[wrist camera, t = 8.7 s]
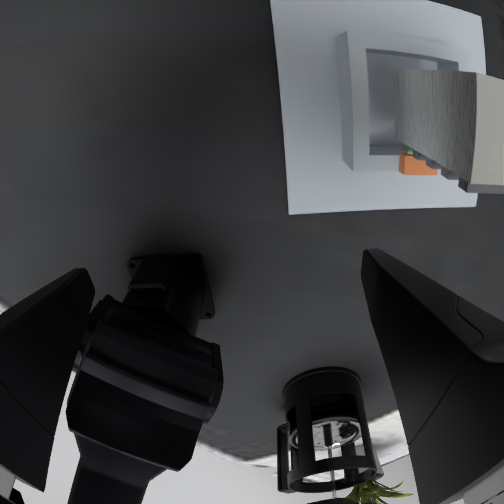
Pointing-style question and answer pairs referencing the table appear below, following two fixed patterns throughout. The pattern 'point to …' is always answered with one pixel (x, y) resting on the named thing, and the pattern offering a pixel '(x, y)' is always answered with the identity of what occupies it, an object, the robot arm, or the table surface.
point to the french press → (324, 434)
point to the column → (453, 124)
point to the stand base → (363, 99)
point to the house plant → (372, 485)
